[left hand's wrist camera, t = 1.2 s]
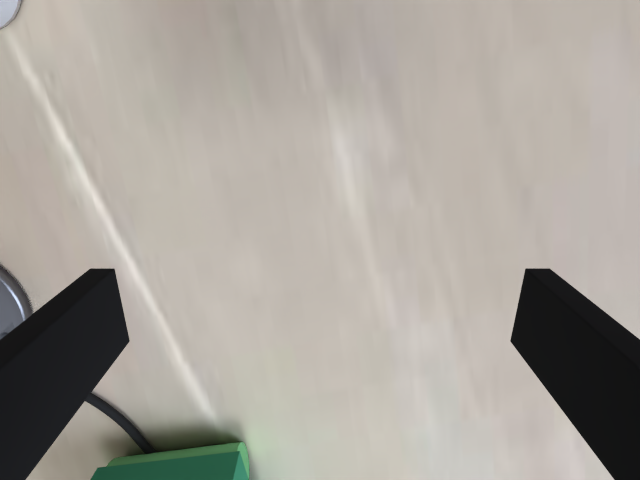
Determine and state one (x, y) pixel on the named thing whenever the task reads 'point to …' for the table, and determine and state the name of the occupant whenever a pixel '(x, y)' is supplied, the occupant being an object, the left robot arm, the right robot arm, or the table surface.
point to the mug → (8, 11)
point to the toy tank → (181, 465)
